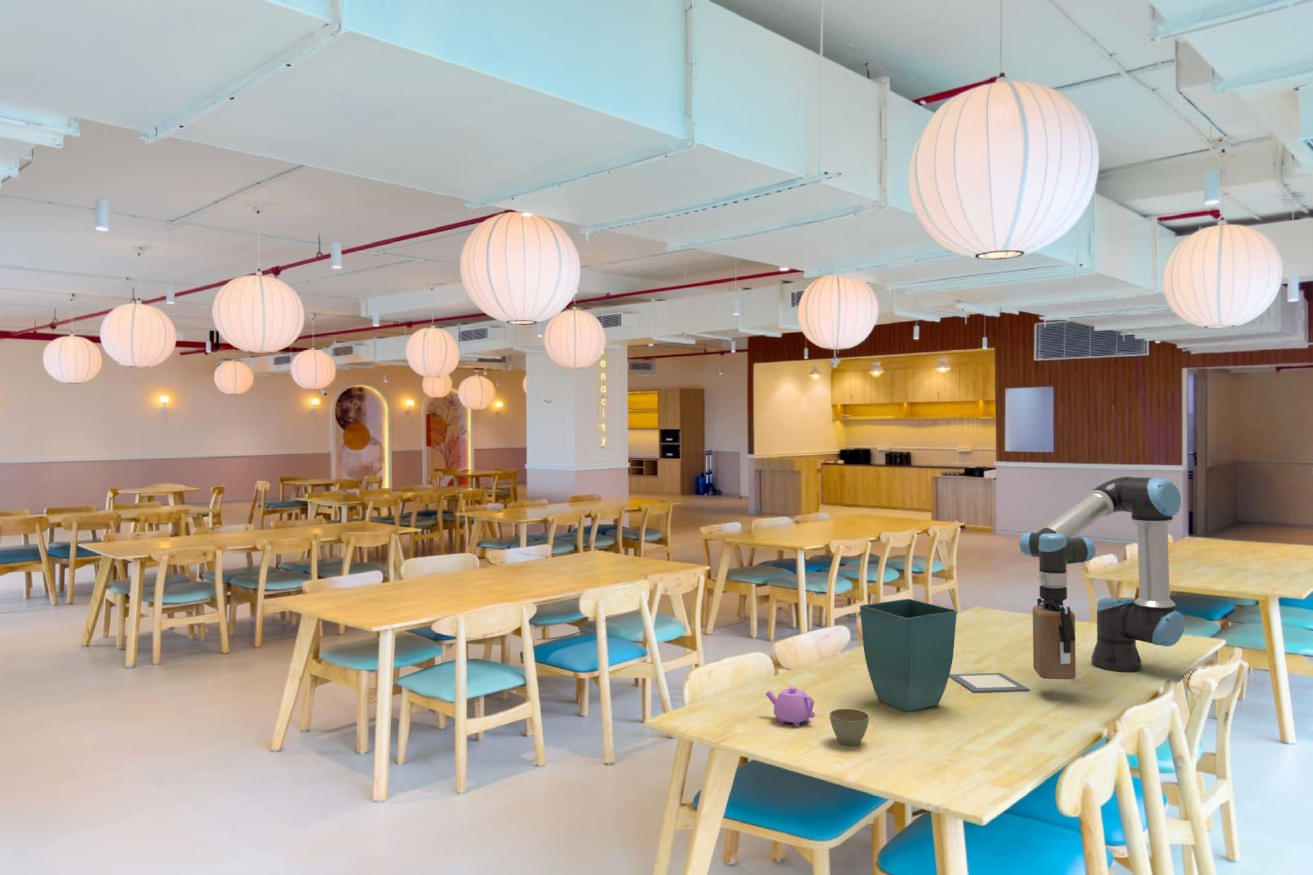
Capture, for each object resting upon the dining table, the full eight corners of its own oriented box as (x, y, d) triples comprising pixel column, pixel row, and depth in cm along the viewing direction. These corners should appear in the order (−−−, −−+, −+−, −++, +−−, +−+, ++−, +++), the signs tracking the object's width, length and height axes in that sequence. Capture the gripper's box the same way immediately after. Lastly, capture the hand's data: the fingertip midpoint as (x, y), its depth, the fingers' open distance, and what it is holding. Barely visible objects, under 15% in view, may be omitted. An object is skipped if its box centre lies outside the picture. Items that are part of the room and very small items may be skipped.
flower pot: (906, 718, 242) (906, 617, 241) (858, 699, 259) (858, 604, 259) (958, 708, 251) (958, 610, 251) (908, 689, 269) (908, 598, 268)
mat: (1000, 674, 285) (1000, 672, 285) (1029, 690, 267) (1029, 688, 267) (948, 676, 283) (948, 673, 283) (973, 692, 265) (973, 690, 265)
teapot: (806, 731, 232) (806, 696, 232) (756, 720, 241) (756, 686, 241) (823, 720, 240) (823, 687, 240) (774, 710, 249) (774, 677, 249)
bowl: (824, 736, 228) (824, 708, 228) (862, 734, 229) (862, 707, 229) (835, 750, 218) (835, 721, 218) (874, 748, 219) (874, 720, 219)
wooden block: (1076, 680, 256) (1075, 612, 256) (1040, 679, 258) (1039, 612, 258) (1067, 670, 266) (1066, 605, 265) (1032, 669, 268) (1031, 605, 267)
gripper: (1020, 578, 273) (1021, 648, 273) (1063, 593, 249) (1064, 669, 250) (1043, 577, 273) (1044, 646, 274) (1088, 592, 250) (1089, 668, 250)
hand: (1054, 657), depth 262 cm, fingers closed on wooden block, 11 cm apart
